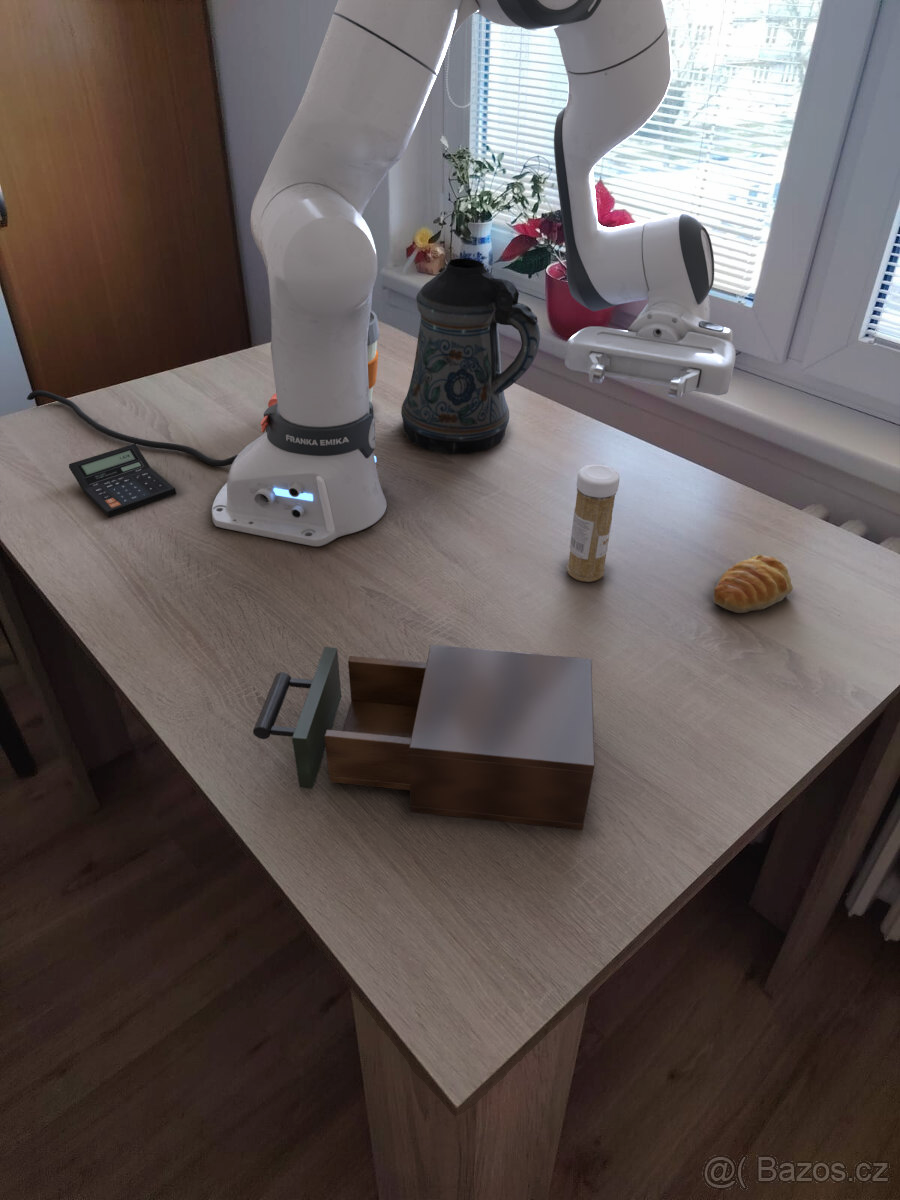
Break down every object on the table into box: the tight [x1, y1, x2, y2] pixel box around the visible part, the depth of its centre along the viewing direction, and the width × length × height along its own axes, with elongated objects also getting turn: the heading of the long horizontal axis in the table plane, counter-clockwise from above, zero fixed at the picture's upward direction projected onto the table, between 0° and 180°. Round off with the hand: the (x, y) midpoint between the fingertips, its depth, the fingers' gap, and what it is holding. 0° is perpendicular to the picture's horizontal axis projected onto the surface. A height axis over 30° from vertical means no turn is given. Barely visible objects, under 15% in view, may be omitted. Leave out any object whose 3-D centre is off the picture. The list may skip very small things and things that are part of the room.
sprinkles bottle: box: [566, 463, 621, 583], centre depth 94 cm, size 5×5×14 cm
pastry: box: [713, 554, 794, 614], centre depth 94 cm, size 9×7×4 cm
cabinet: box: [409, 644, 596, 831], centre depth 72 cm, size 15×13×8 cm
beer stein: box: [400, 258, 541, 455], centre depth 120 cm, size 16×19×25 cm
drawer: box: [252, 646, 427, 791], centre depth 73 cm, size 18×11×6 cm, turn 83°
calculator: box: [68, 443, 177, 518], centre depth 111 cm, size 9×12×3 cm
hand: (634, 383), depth 96 cm, fingers open, 8 cm apart
